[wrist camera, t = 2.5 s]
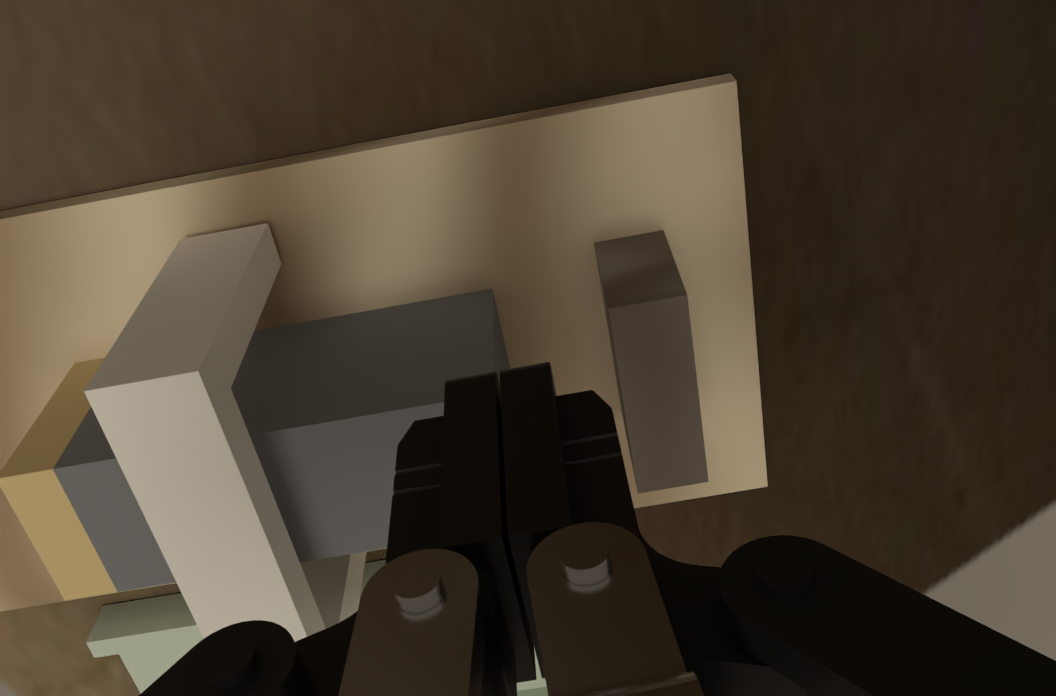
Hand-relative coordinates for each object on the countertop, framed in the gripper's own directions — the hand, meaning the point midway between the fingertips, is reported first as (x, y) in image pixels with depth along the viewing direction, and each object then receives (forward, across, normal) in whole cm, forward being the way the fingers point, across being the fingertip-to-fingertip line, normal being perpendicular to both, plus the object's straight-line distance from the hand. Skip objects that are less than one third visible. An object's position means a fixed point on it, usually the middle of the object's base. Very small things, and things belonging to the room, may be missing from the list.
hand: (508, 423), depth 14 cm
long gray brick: (+9, +5, +4) cm, 11 cm away
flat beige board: (+10, +6, +4) cm, 12 cm away
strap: (+10, +6, +4) cm, 12 cm away
